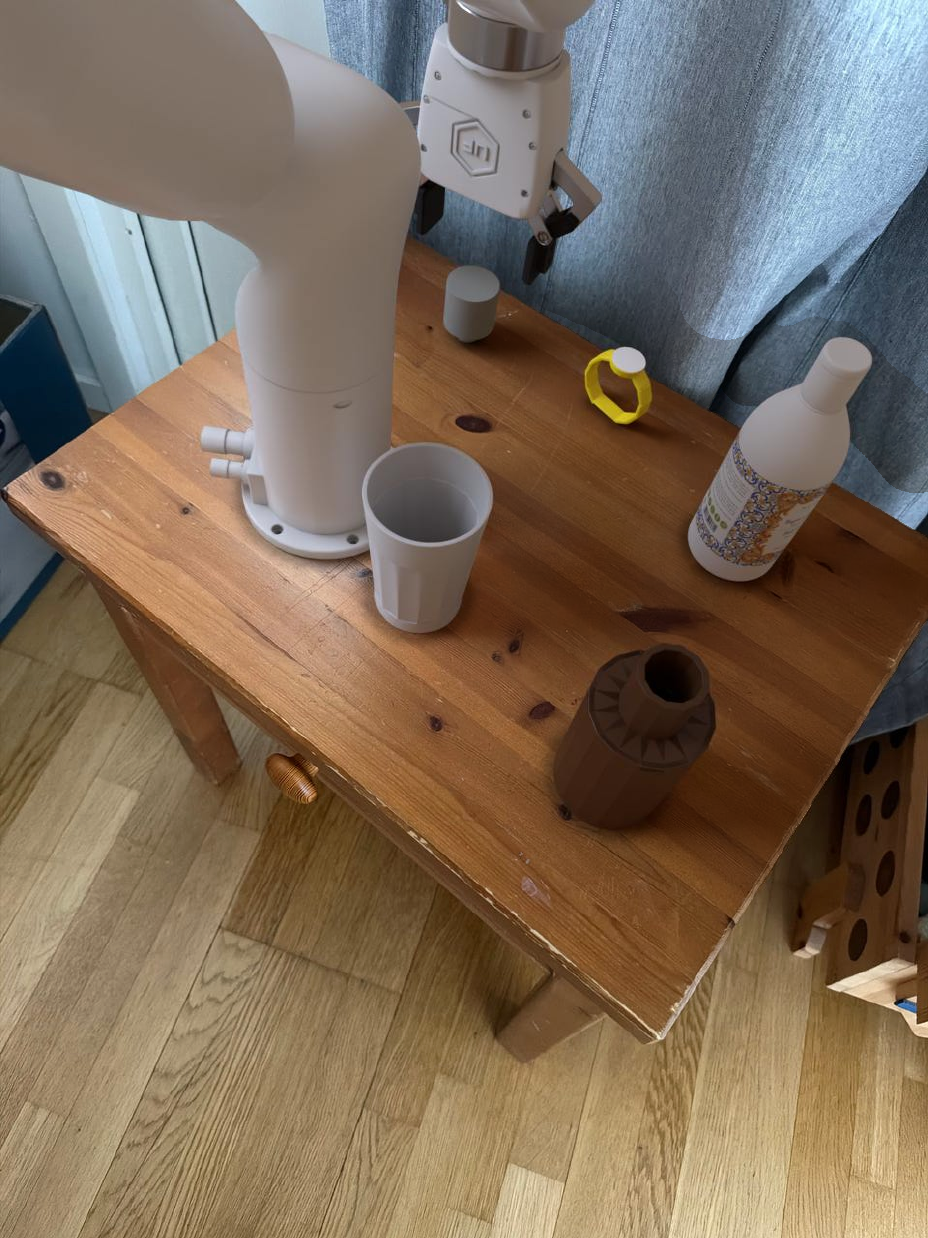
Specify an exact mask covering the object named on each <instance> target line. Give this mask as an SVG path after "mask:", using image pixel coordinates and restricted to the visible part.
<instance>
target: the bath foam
mask: <svg viewBox="0 0 928 1238" xmlns="http://www.w3.org/2000/svg"><path fill="white" fill-rule="evenodd" d="M872 364H873V355H872V354H871V352H870V350H869V349H868V348H867V347H866V346H865V345H864V343H861V342H860V341H858V340H856V339H853V338H851V337H844V336H838V337H834V338H831V339H829V340H828V341H826V343H825V344H824V346H822V348H821V350H820V351H819V354H818V355H817V357H816V359H815V360H814V363H813V364H812V366H811V367H810V369H809V371H808V373H807V375H806V376H805V379H804V380H803V382H801V383H798V384H796V385H793V386H790V387H788V388H785V389H783V390H781V391H778V392H776V393H775V394H773V395H771V396H769V397H768V398H767V399H765V400H764V401H762V402H761V403H760V404H759V405H758V406H757V407H756V408H755V409H754V410H753V411H752V412H751V414H750V415H749V416H748V417H747V418H746V419H745V421H744V422H743V424H742V426H741V428H740V429H739V431H738V433H737V435H736V436H735V439H734V441H733V442H732V444H731V447H730V448H729V450H728V452H727V453H726V456H725V457H724V459H723V461H722V463H721V465H720V467H719V469H718V471H717V472H716V474H715V476H714V478H713V480H712V482H711V484H710V486H709V488H708V489H707V491H706V493H705V495H704V497H703V499H702V501H701V502H700V504H699V506H698V509H697V510H696V513H695V515H694V516H693V518H692V520H691V523H690V524H689V528H688V533H687V542H688V546H689V549H690V552H691V554H692V556H693V557H694V559H695V560H696V562H698V564H699V565H700V566H701V567H702V568H703V569H705V570H706V571H707V572H709V573H711V574H712V575H714V576H716V577H717V578H721V579H723V580H727V581H732V582H749V581H751V580H755V579H759V578H760V577H762V576H763V575H765V574H766V573H768V571H769V570H770V569H771V568H772V567H773V566H774V564H775V563H776V561H777V560H778V559H779V558H780V556H781V554H782V553H784V550H785V549H786V548H787V547H788V545H789V543H790V542H791V541H792V540H793V538H794V537H795V535H796V534H797V532H798V531H799V530H800V528H801V526H803V524H804V523H805V522H806V520H807V519H808V517H809V516H810V514H811V513H812V512H813V510H814V508H815V507H816V506H817V504H818V503H819V502H820V500H821V499H822V497H823V496H824V495H825V493H826V492H827V491H828V489H829V488H830V486H831V485H832V483H833V482H834V481H835V479H836V478H837V476H839V473H840V471H841V469H842V467H843V465H844V463H845V461H846V458H847V454H848V451H849V449H850V448H849V447H850V441H851V427H850V419H849V415H848V408H847V404H848V402H849V401H850V399H851V398H852V397H853V396H854V394H855V392H856V391H857V389H858V388H859V386H860V384H861V383H862V381H863V380H864V378H865V377H866V375H867V374H868V372H869V370H870V369H871V367H872Z"/></svg>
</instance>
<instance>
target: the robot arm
mask: <svg viewBox="0 0 928 1238" xmlns="http://www.w3.org/2000/svg"><path fill="white" fill-rule="evenodd" d="M595 1H596V0H441V2H442V3H443V4H444V5H445V6H446V7H445V9H446V10H445V22H444V23H442V24H440V25H439V27H437V28H436V30H435V33H434V36H433V40H432V44H431V47H430V51H429V56H428V60H427V65H426V70H425V74H424V79H423V85H422V90H421V98H420V99H415V100H408V101H402V102H397V101H396V99H395V98H394V97H392V95H390V94H389V93H388V92H387V91H386V90H385V89H383V88H382V87H381V86H380V85H378V84H377V83H375V82H373V81H372V80H370V79H369V78H367V77H366V76H365V75H363V74H361V73H360V72H358V71H356V70H354V69H352V68H351V67H348V66H346V65H345V64H342V63H341V62H338V61H336V60H333V59H331V58H329V57H326V56H324V55H322V54H320V53H318V52H315V51H313V50H311V49H309V48H306V47H305V46H302V45H300V44H297V43H295V42H294V41H291V40H289V39H286V38H284V37H282V36H280V35H277V34H276V33H269V32H267V31H264V30H262V29H261V28H260V26H259V25H258V23H256V22H255V20H254V19H253V18H252V17H251V16H250V15H249V14H248V12H247V11H246V10H245V9H244V8H243V7H242V5H240V4H239V2H238V1H237V0H0V167H2V168H5V169H7V170H10V171H12V172H15V173H18V174H20V175H22V176H23V175H24V176H25V177H29V178H32V179H36V180H39V181H42V182H45V183H48V184H51V185H55V186H59V187H62V188H65V189H68V190H71V191H74V192H76V193H77V192H78V193H81V194H84V195H87V196H89V197H92V198H94V199H96V200H99V201H101V202H103V203H106V204H108V205H110V206H113V207H117V208H120V209H123V210H125V211H129V212H131V213H134V214H138V215H140V216H144V217H150V218H155V219H161V220H165V221H171V222H172V221H173V222H202V223H204V224H207V225H208V226H211V227H212V228H213V229H215V230H216V231H218V232H220V233H223V234H225V235H226V236H228V237H230V238H232V239H234V240H236V241H237V242H239V243H241V244H242V245H244V246H245V247H246V248H248V250H249V251H251V252H252V253H253V254H254V257H256V260H257V263H255V265H254V266H253V267H252V268H251V269H250V271H249V272H248V273H247V274H246V275H245V277H244V279H243V280H242V282H241V284H240V286H239V288H238V291H237V294H236V297H235V305H234V322H235V323H234V324H235V330H236V331H235V332H236V338H237V343H238V344H237V345H238V348H239V351H240V357H241V363H242V369H243V376H244V382H245V387H246V388H245V389H246V393H247V399H248V400H247V401H248V406H249V414H250V418H251V425H252V427H247V429H246V430H245V432H244V431H237V430H230V428H226V427H220V426H211V425H204V426H203V428H202V430H201V435H200V448H201V451H202V452H204V453H210V454H211V453H212V454H219V455H225V456H226V455H233V456H234V455H235V456H241V457H243V459H244V461H243V462H241V461H234V460H232V459H225V458H218V457H212V459H211V460H210V465H209V473H210V476H211V477H212V478H219V479H228V480H229V479H234V480H241V487H240V488H241V496H242V502H243V506H244V511H245V513H246V516H247V517H248V519H249V521H250V524H251V525H252V526H253V528H254V529H255V530H256V531H257V532H258V533H259V534H260V536H262V538H263V539H265V540H266V541H268V542H269V543H270V544H272V545H273V546H274V547H276V548H278V549H280V550H283V551H284V552H286V553H288V554H291V555H295V556H298V557H302V558H305V559H306V558H307V559H313V560H314V559H316V560H339V559H345V558H349V557H354V556H357V555H360V554H362V553H365V552H368V551H370V546H369V538H368V530H367V524H366V517H365V511H364V504H363V497H362V487H363V482H364V479H365V476H366V474H367V472H368V470H369V468H370V467H371V466H372V464H373V463H374V462H375V461H376V460H377V459H378V458H379V457H380V456H382V455H383V454H385V453H386V452H388V451H390V450H392V449H394V448H395V447H394V446H392V422H393V421H392V420H393V394H394V393H393V392H394V391H393V390H394V366H395V365H394V362H395V341H396V340H395V336H396V314H397V313H396V311H397V297H398V294H397V293H398V287H399V279H400V271H401V265H402V259H403V254H404V249H405V245H406V241H407V237H408V232H409V229H410V224H411V220H412V217H413V214H415V215H416V222H415V223H416V225H415V233H416V234H419V235H421V236H424V235H427V234H428V233H429V232H430V231H431V230H432V229H433V228H434V227H435V226H436V225H437V224H438V222H440V221H441V219H443V216H444V214H445V213H444V212H445V200H446V199H445V198H446V189H447V190H449V191H451V192H453V193H456V194H458V195H460V196H462V197H464V198H466V199H468V200H471V201H473V202H475V203H477V204H479V205H482V206H484V207H486V208H488V209H490V210H492V211H494V212H498V213H500V214H501V215H504V216H506V217H509V218H511V219H514V220H519V221H527V223H528V225H529V227H530V229H531V231H532V233H533V235H532V236H531V237H530V238H529V240H528V241H527V245H526V249H525V250H526V251H525V257H524V264H523V269H522V274H521V281H522V283H523V284H524V285H527V286H528V287H530V286H531V285H532V284H533V282H534V281H535V280H536V279H537V278H538V276H540V274H542V275H546V273H547V272H548V271H549V270H550V269H551V267H552V264H553V261H554V257H555V252H556V247H557V241H558V239H559V238H561V237H564V236H566V235H568V234H571V233H573V232H575V230H576V229H577V228H578V227H579V226H580V225H581V224H583V222H584V221H585V220H586V219H587V218H588V217H589V216H590V215H592V213H593V212H594V211H595V210H596V209H597V207H598V206H599V205H600V204H601V203H602V201H603V195H602V193H601V192H600V191H599V190H598V188H596V186H595V185H594V184H593V183H592V182H591V181H590V179H588V178H587V177H586V175H585V174H584V173H583V172H582V171H581V170H580V168H579V167H577V165H576V164H575V163H574V162H573V161H572V160H571V159H570V158H569V156H568V155H567V150H568V149H567V148H568V142H569V133H570V132H569V131H570V123H571V122H570V121H571V109H572V65H571V64H572V63H571V53H570V52H569V51H568V50H566V49H565V48H564V47H565V40H566V35H567V30H568V29H567V28H569V27H571V26H572V25H574V24H576V22H578V20H580V19H581V18H582V17H583V16H585V14H586V13H587V12H588V11H589V9H591V7H592V6H593V5H594V3H595ZM415 126H417V130H416V128H415ZM558 188H560V189H561V191H563V192H564V193H565V195H567V197H569V199H571V201H572V202H571V203H572V206H570V207H567V208H565V209H564V208H563V206H562V204H561V201H560V200H559V197H558V195H557V192H556V191H557V190H558ZM413 212H414V213H413ZM544 213H545V214H544Z"/></svg>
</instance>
